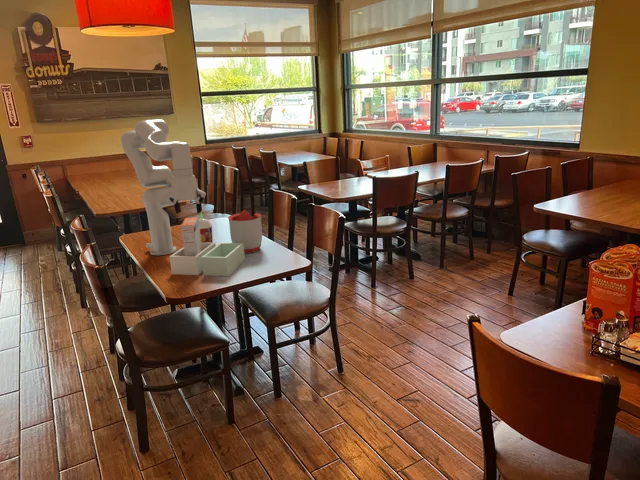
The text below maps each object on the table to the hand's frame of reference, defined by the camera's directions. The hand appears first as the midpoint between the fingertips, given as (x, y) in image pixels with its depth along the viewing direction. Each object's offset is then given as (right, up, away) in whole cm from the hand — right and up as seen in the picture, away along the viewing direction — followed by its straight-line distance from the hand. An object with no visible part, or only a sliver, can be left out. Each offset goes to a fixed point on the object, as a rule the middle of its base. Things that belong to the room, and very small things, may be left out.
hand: (188, 212), depth 200 cm
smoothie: (+1, -18, +25) cm, 31 cm away
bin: (+15, -24, +5) cm, 28 cm away
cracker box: (+1, -24, +8) cm, 25 cm away
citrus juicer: (+21, -17, +28) cm, 39 cm away
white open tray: (+1, -23, +7) cm, 25 cm away
